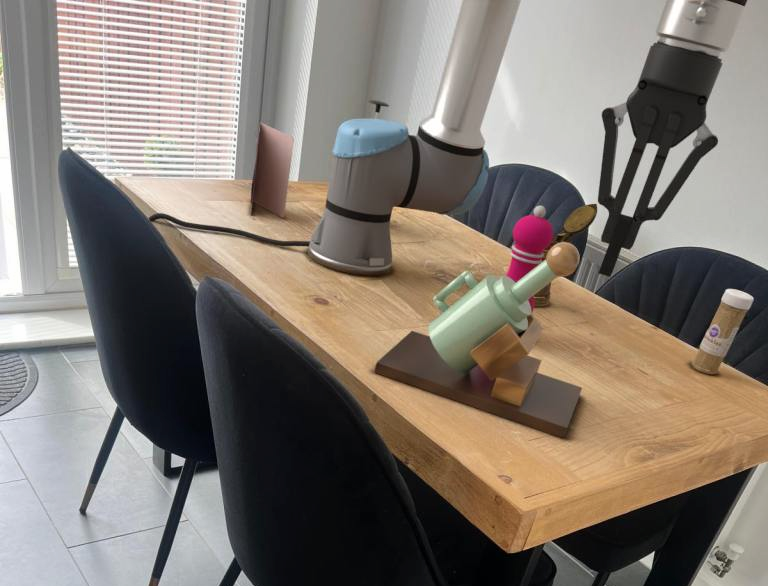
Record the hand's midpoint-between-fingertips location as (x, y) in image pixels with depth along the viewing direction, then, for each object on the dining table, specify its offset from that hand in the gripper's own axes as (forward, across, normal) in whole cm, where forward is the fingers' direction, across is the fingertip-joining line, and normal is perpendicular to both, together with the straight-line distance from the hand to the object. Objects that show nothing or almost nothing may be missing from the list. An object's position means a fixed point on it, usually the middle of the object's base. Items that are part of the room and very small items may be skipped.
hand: (605, 272), depth 91 cm
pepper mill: (+19, -12, +24) cm, 33 cm away
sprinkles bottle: (+19, +20, +38) cm, 47 cm away
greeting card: (+19, -69, +50) cm, 88 cm away
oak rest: (+18, -8, 0) cm, 19 cm away
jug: (+18, -12, 0) cm, 21 cm away
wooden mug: (+19, -11, +48) cm, 53 cm away
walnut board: (+19, -11, 0) cm, 22 cm away
